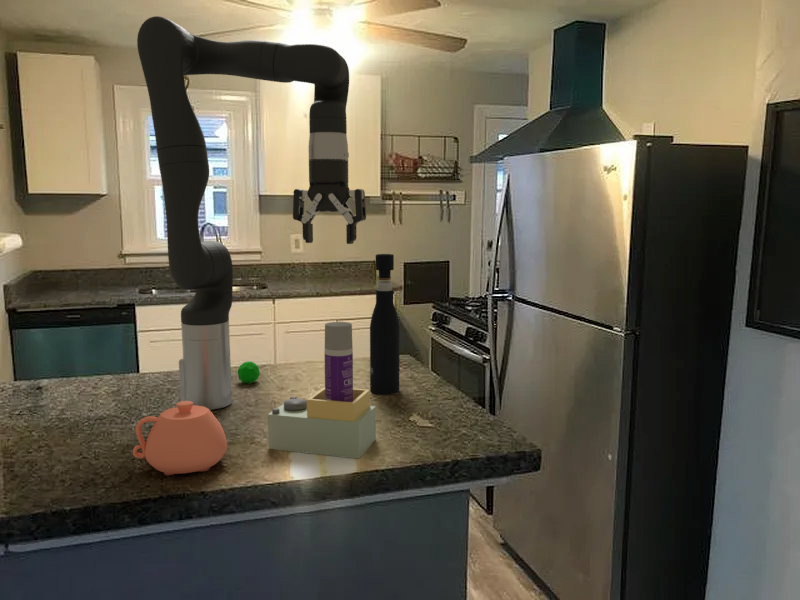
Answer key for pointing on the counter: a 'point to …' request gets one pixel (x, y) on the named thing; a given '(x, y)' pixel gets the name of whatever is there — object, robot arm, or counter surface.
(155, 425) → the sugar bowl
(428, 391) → the counter surface
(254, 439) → the counter surface
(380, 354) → the wine bottle
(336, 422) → the grey-green box with tray
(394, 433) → the counter surface
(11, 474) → the counter surface
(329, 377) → the container
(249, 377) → the polyhedron
